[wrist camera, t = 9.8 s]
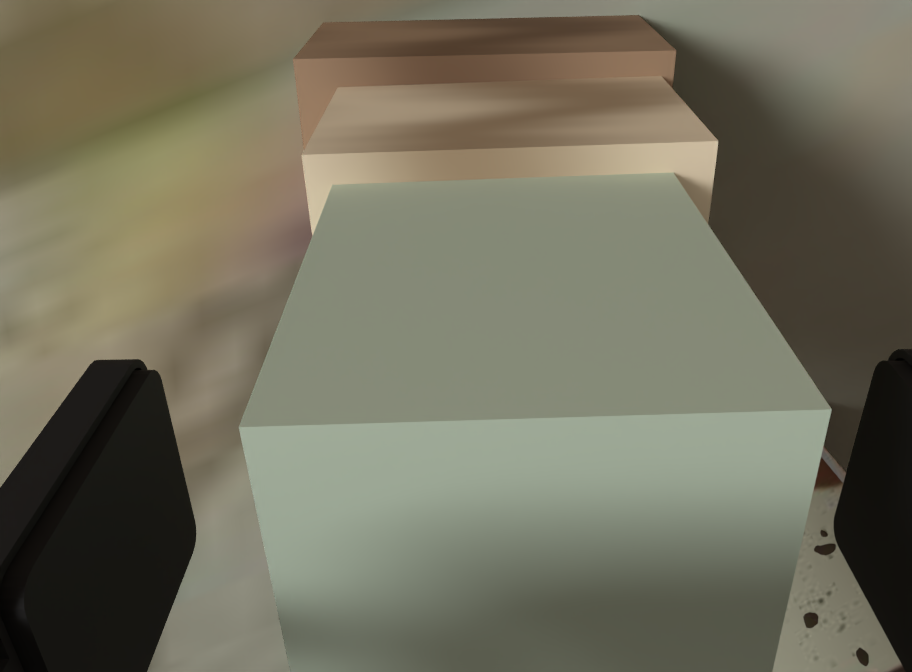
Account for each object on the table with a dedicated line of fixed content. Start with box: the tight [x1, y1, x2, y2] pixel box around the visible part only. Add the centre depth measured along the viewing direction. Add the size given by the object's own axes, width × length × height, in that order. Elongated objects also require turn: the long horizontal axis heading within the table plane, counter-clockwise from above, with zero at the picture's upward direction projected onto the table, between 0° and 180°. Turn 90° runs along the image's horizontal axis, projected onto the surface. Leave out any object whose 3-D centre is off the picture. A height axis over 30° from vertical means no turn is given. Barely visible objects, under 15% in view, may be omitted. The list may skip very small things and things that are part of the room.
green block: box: [239, 172, 832, 672], centre depth 11 cm, size 5×5×6 cm
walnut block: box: [293, 15, 676, 149], centre depth 19 cm, size 7×7×4 cm
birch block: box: [302, 76, 718, 236], centre depth 15 cm, size 6×6×4 cm
